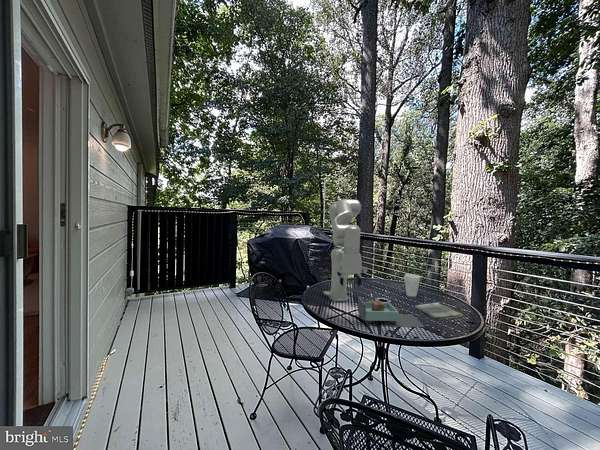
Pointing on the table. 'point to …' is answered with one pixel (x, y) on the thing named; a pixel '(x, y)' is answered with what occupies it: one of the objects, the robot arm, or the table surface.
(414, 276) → the foam cup
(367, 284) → the table surface
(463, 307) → the table surface
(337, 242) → the robot arm
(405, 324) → the dock mat
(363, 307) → the mint green cubby
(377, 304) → the walnut block
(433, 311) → the dish towel
